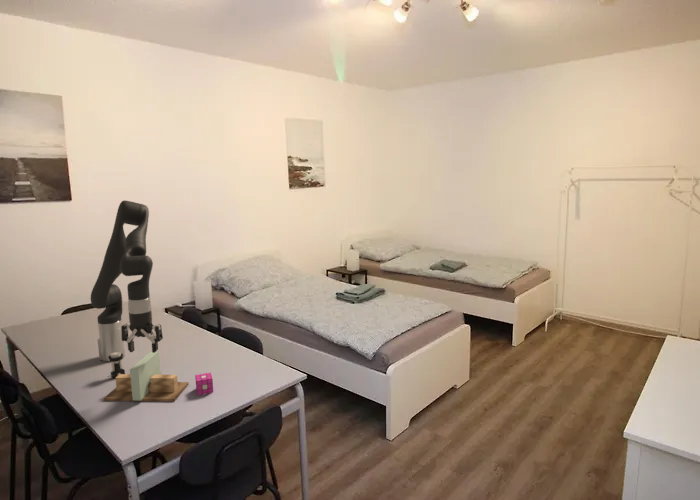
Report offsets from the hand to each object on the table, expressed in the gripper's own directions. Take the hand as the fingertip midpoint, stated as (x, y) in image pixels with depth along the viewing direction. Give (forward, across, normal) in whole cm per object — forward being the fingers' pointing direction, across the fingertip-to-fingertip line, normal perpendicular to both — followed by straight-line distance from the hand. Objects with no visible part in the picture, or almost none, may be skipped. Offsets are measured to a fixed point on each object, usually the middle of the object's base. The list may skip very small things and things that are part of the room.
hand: (143, 351), depth 163 cm
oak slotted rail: (+16, 0, 0) cm, 16 cm away
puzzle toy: (+16, -21, -2) cm, 27 cm away
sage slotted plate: (+15, 0, 0) cm, 15 cm away
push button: (+17, +19, -12) cm, 28 cm away
